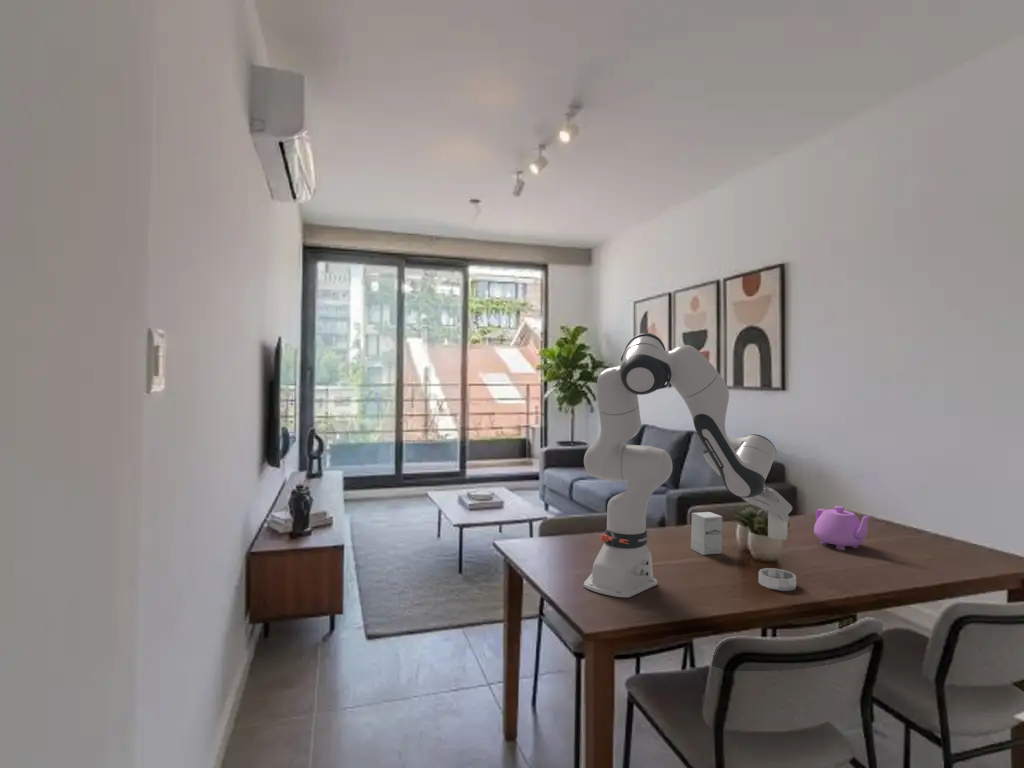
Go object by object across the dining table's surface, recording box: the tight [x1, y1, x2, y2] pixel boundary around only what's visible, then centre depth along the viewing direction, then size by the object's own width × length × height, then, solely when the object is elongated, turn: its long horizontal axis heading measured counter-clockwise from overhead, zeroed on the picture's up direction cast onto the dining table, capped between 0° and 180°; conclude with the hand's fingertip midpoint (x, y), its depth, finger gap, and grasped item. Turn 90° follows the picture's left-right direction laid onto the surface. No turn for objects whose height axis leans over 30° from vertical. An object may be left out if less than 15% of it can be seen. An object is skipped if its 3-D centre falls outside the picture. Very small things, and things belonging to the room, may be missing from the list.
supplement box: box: [690, 511, 723, 556], centre depth 186 cm, size 7×7×13 cm
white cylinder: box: [767, 511, 789, 541], centre depth 156 cm, size 5×5×10 cm
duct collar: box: [758, 567, 797, 592], centre depth 156 cm, size 9×9×3 cm
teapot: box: [813, 505, 873, 551], centre depth 194 cm, size 22×16×14 cm
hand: (779, 516), depth 157 cm, fingers closed on white cylinder, 5 cm apart
